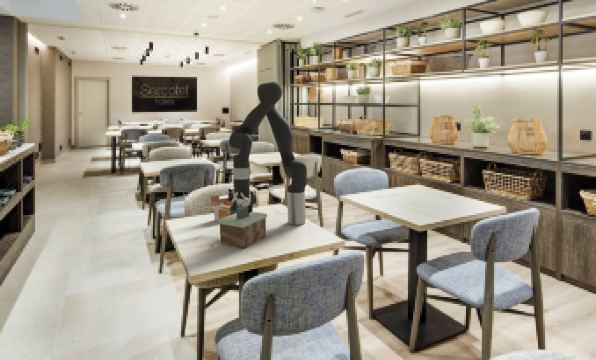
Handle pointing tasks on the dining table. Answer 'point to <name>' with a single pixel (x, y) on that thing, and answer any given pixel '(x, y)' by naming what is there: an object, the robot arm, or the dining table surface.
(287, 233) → the dining table surface
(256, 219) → the lid
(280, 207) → the dining table surface
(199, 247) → the dining table surface
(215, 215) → the small box
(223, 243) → the wooden box
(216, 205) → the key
